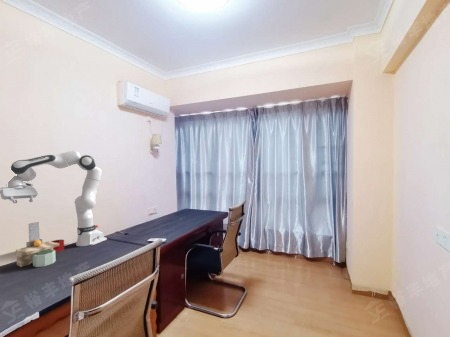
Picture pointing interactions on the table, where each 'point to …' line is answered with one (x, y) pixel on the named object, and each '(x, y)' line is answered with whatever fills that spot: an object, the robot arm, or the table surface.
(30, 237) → the grey upright panel
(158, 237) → the table surface
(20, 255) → the beige slab
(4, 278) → the table surface
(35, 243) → the ball
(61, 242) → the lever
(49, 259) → the cup
